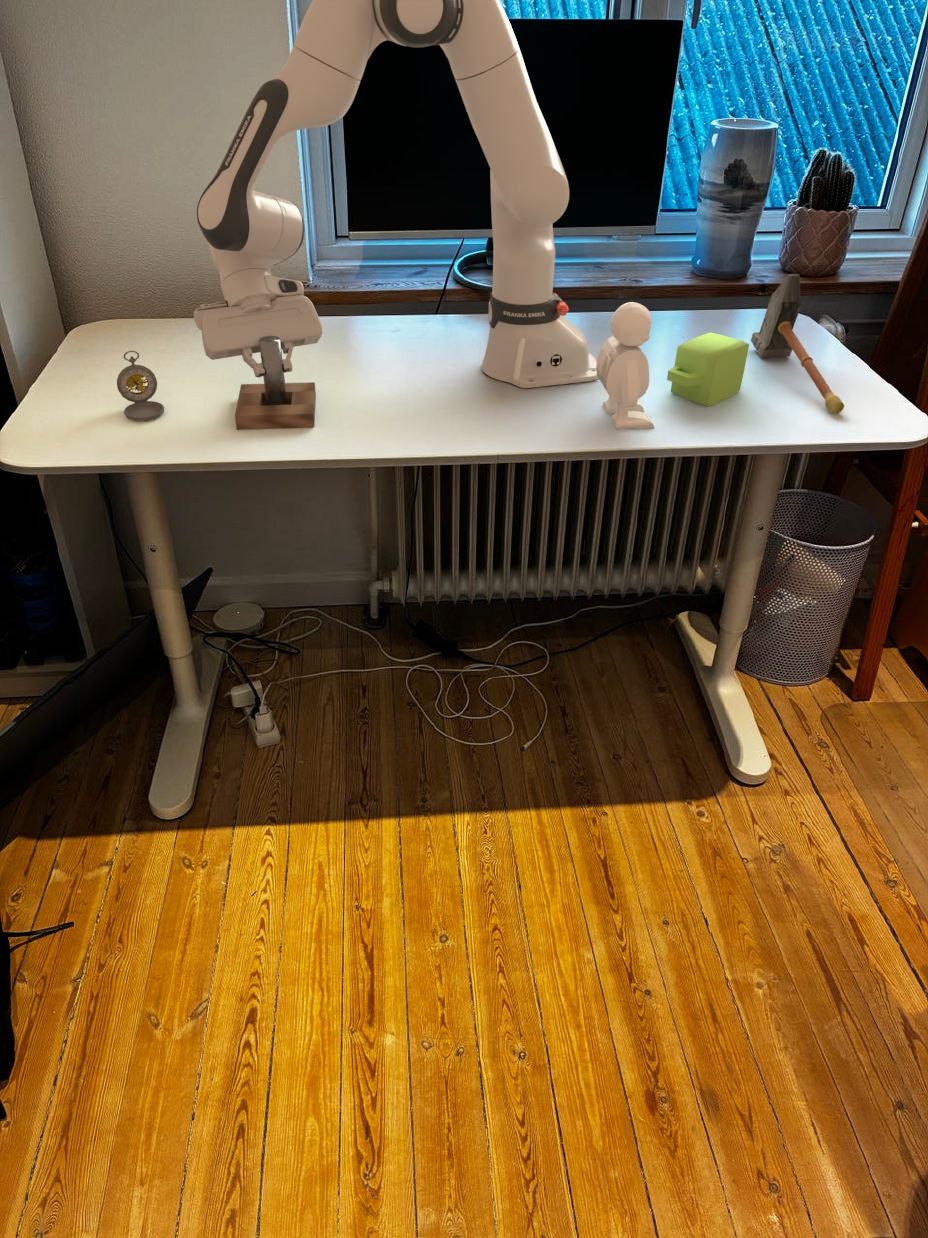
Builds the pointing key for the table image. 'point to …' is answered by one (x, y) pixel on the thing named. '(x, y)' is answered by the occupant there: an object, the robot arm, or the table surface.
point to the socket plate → (276, 407)
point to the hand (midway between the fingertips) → (274, 373)
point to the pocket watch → (130, 379)
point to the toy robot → (626, 366)
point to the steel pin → (273, 370)
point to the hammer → (790, 336)
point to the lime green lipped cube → (708, 368)
